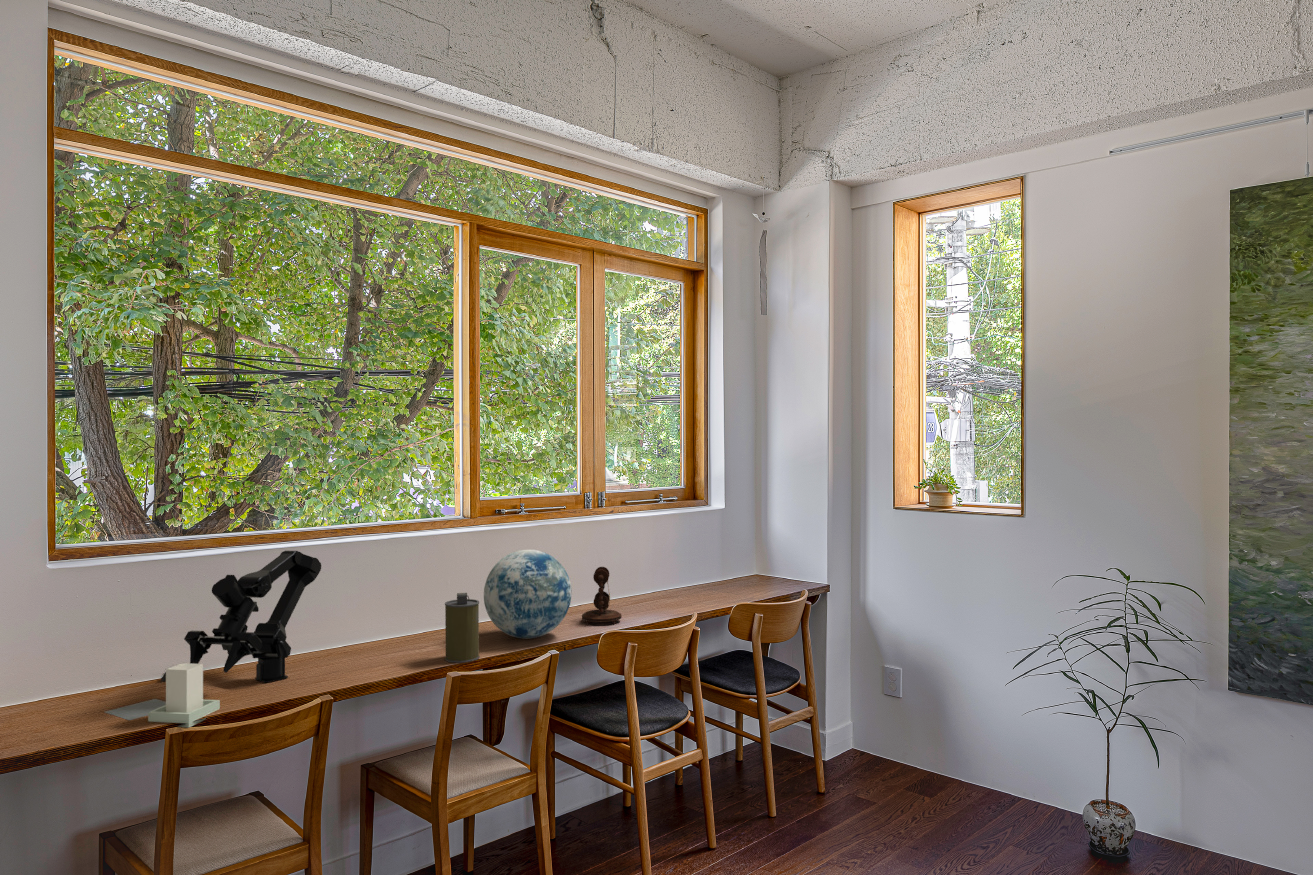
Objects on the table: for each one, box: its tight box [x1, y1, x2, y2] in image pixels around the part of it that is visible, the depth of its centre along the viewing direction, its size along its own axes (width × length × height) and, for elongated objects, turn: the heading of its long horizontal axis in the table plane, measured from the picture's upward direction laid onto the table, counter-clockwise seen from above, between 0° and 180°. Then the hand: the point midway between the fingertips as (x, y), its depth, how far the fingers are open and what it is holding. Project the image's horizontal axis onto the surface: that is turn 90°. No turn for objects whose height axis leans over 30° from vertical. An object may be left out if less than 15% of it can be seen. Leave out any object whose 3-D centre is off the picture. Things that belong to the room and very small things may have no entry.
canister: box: [444, 592, 480, 664], centre depth 251 cm, size 11×10×20 cm
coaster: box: [104, 698, 166, 721], centre depth 201 cm, size 12×12×1 cm
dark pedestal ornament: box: [581, 566, 622, 625], centre depth 303 cm, size 15×15×20 cm
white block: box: [165, 662, 204, 713], centre depth 196 cm, size 6×6×12 cm
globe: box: [483, 549, 573, 640], centre depth 278 cm, size 30×30×30 cm
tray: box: [147, 698, 221, 729], centre depth 196 cm, size 11×11×3 cm
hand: (207, 671), depth 204 cm, fingers open, 9 cm apart
